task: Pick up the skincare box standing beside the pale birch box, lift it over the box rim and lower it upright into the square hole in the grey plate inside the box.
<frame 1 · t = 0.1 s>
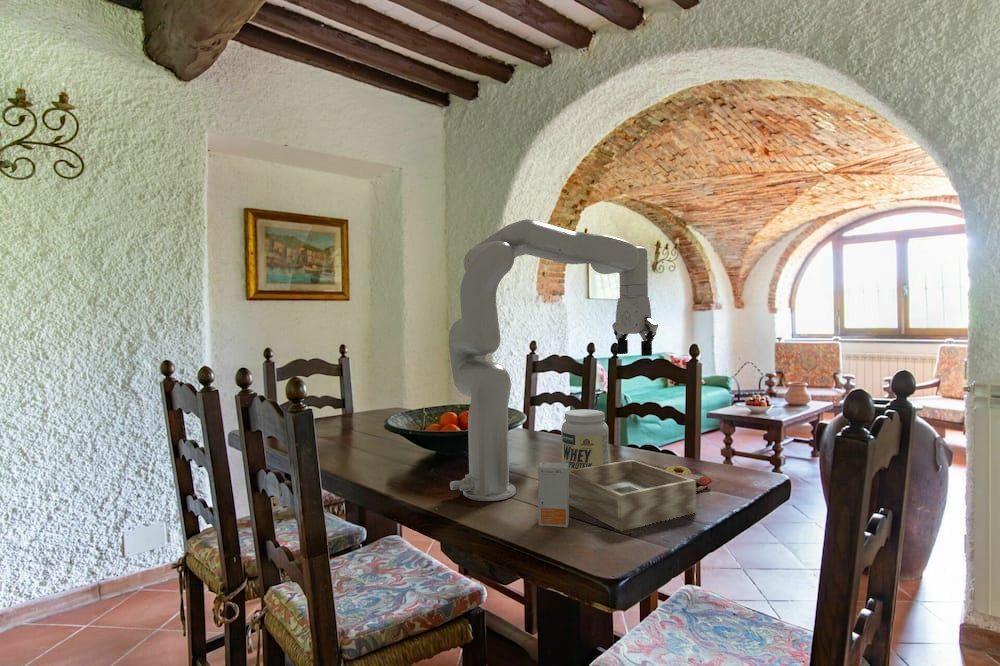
hand: (634, 354, 152), 31 cm above the table, tool pointing down, fingers open, 9 cm apart
supplement tub: (585, 477, 145), on the table
skincare box: (554, 524, 113), on the table
toy food set: (681, 487, 137), on the table
socket box: (627, 507, 121), on the table
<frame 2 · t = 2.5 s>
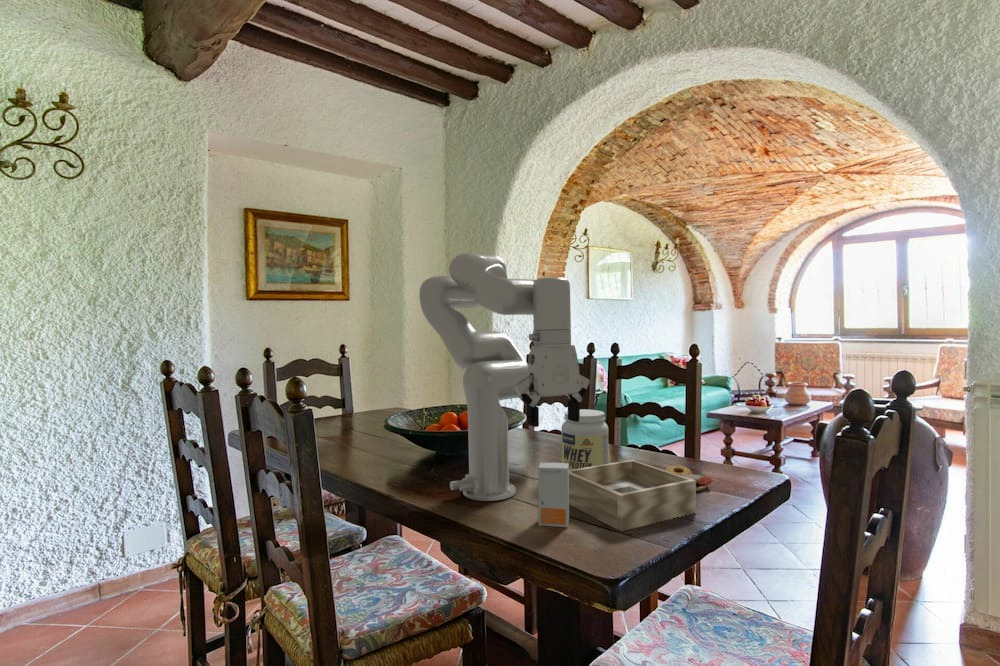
hand: (553, 423, 112), 20 cm above the table, tool pointing down, fingers open, 9 cm apart
nothing on the table moved.
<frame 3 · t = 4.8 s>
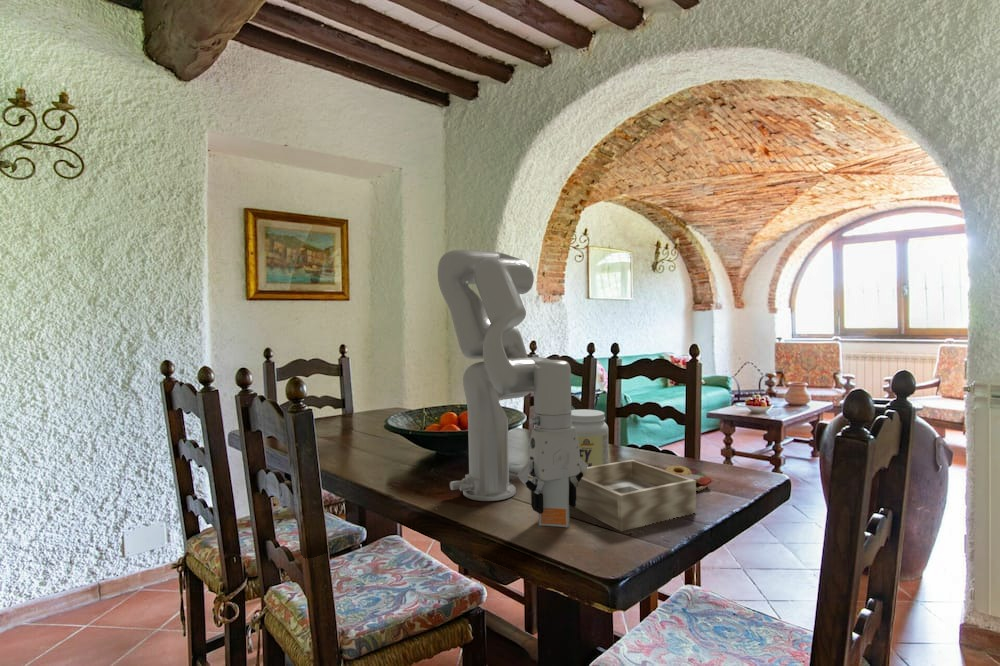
hand: (554, 507, 112), 3 cm above the table, tool pointing down, fingers closed on skincare box, 7 cm apart
skincare box: (554, 524, 113), on the table, touching gripper
everything else where it was.
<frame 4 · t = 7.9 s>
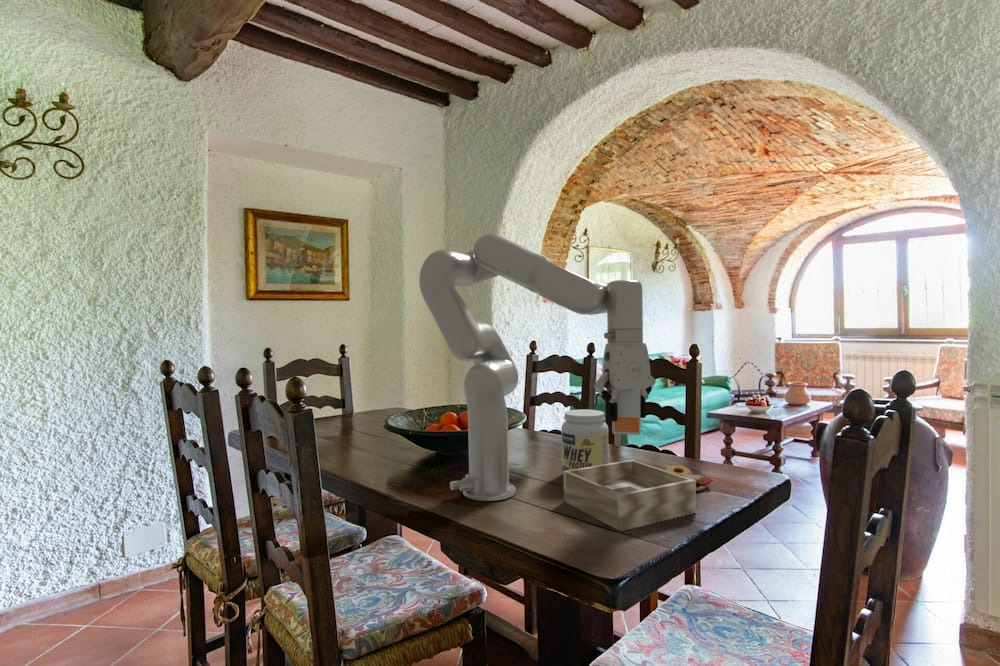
hand: (625, 418, 121), 20 cm above the table, tool pointing down, fingers closed on skincare box, 7 cm apart
skincare box: (626, 433, 121), point 16 cm above the table, touching gripper
everything else where it was.
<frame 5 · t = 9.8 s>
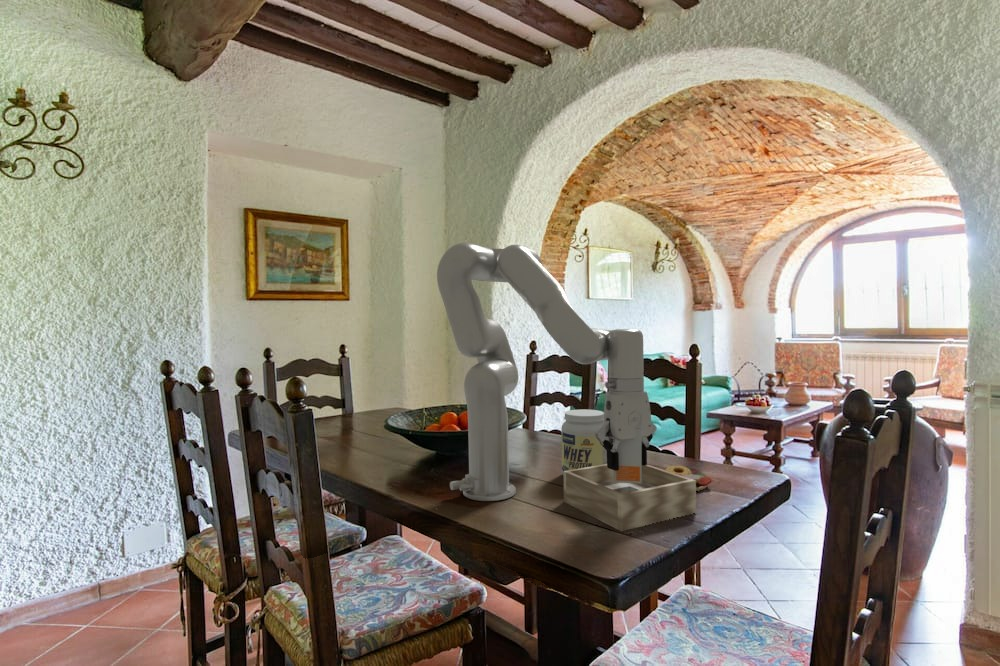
hand: (627, 466, 121), 9 cm above the table, tool pointing down, fingers closed on skincare box, 7 cm apart
skincare box: (627, 481, 121), point 6 cm above the table, touching gripper
everything else where it was.
when the fingers open (4 cm above the table, at t = 11.3 s): skincare box stays where it is, resting in socket box.
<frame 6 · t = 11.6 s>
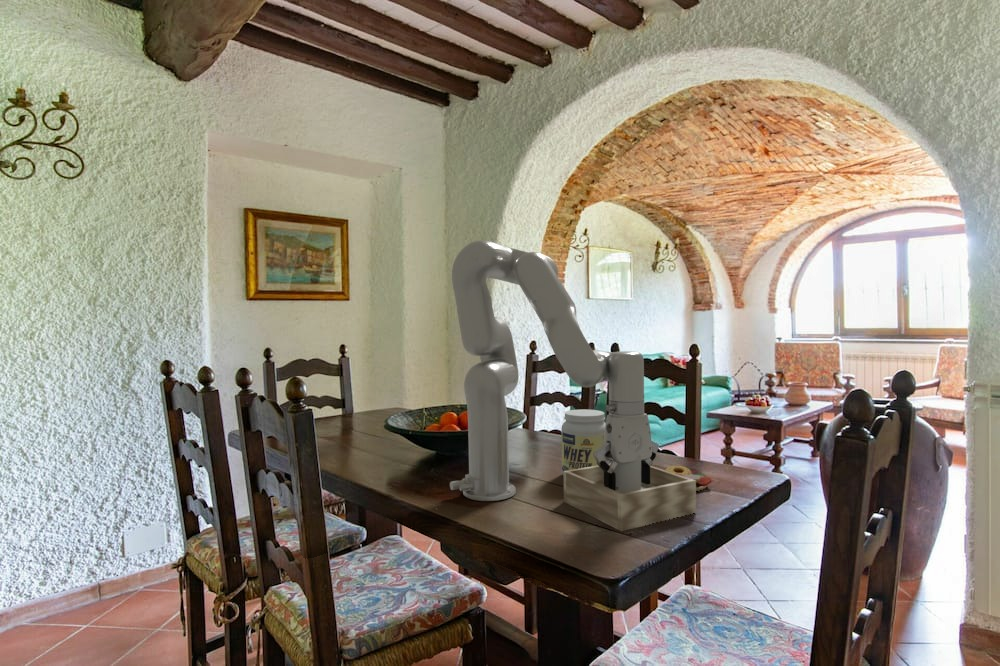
hand: (627, 486, 121), 5 cm above the table, tool pointing down, fingers open, 9 cm apart
skincare box: (627, 508, 121), resting in socket box
everything else where it was.
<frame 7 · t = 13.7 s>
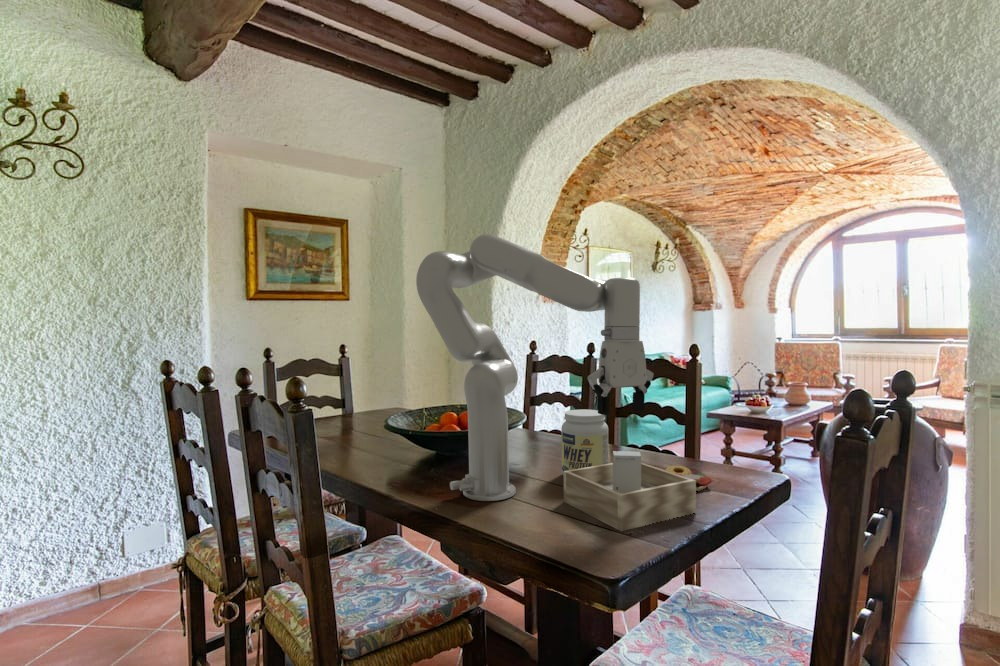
hand: (621, 412, 122), 21 cm above the table, tool pointing down, fingers open, 9 cm apart
nothing on the table moved.
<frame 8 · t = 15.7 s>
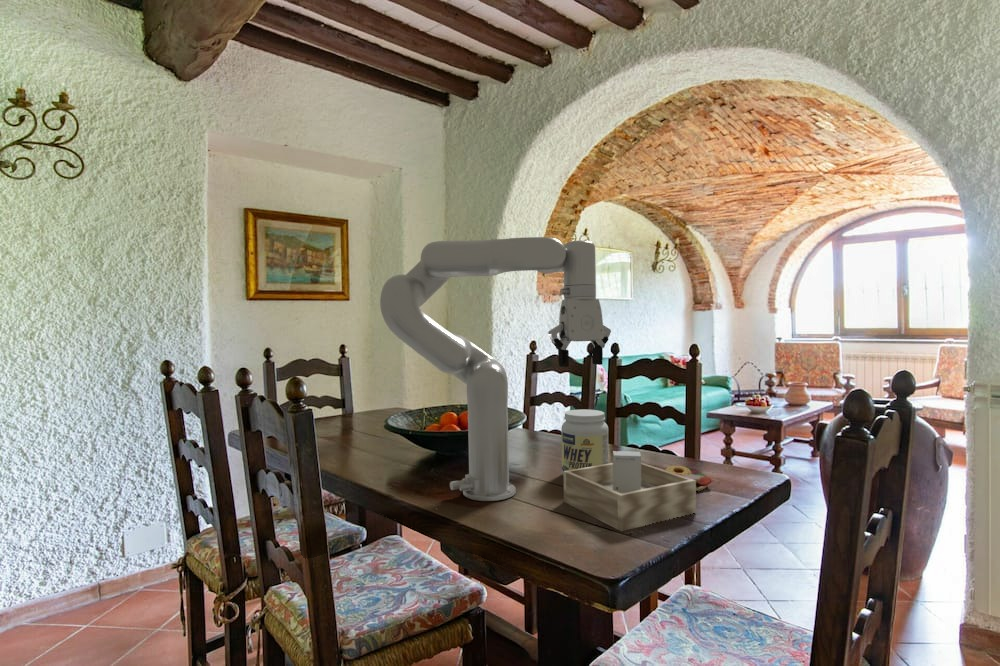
hand: (580, 365, 132), 30 cm above the table, tool pointing down, fingers open, 9 cm apart
nothing on the table moved.
at the end: skincare box 0.1 cm off-centre on the socket box, point 0.0 cm above the socket box's base; skincare box tilted 0°; the gripper is holding nothing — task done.
